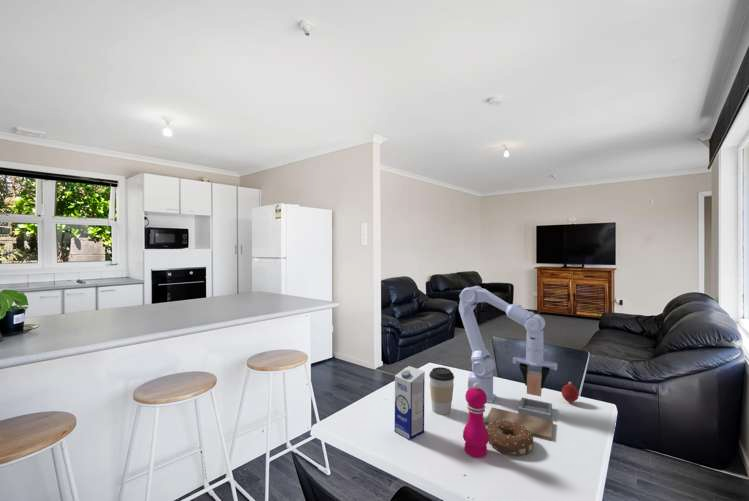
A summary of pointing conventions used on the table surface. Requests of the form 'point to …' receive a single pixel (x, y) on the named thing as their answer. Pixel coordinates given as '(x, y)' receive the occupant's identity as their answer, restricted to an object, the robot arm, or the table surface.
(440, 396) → the coffee cup
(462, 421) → the table surface
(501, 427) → the donut
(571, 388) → the onion
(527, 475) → the table surface
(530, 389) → the peach cube with handle
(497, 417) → the board
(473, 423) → the pepper mill
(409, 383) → the milk carton
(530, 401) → the collar
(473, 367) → the robot arm
